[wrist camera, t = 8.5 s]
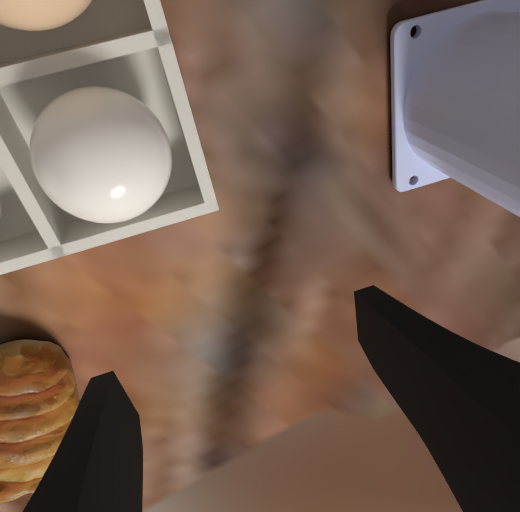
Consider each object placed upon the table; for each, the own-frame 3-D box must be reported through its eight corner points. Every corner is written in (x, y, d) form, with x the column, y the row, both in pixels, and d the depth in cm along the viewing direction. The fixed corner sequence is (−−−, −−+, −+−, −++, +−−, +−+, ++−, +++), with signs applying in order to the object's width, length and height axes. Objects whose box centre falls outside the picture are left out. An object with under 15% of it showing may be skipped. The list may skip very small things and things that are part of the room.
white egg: (144, 62, 16) (148, 83, 12) (181, 176, 19) (194, 223, 15) (19, 93, 16) (-20, 127, 12) (75, 206, 18) (59, 264, 14)
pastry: (-47, 322, 20) (-78, 382, 17) (100, 334, 23) (95, 388, 20) (-49, 448, 24) (-75, 515, 21) (76, 446, 27) (69, 505, 24)
